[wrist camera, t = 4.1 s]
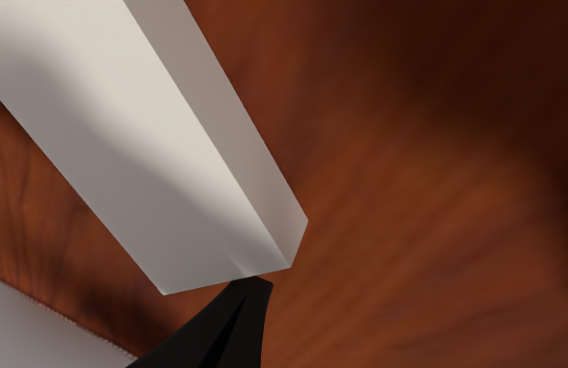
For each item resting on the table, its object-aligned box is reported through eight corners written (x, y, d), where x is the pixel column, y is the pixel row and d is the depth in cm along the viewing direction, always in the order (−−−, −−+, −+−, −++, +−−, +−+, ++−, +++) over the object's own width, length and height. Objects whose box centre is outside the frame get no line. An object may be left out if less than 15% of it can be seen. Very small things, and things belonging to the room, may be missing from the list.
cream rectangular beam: (308, 220, 10) (290, 267, 8) (197, 253, 13) (163, 295, 11) (143, -71, 8) (53, -111, 6) (45, 48, 10) (-41, 51, 8)
